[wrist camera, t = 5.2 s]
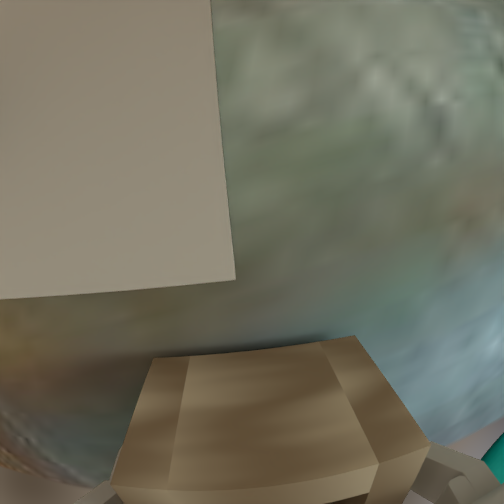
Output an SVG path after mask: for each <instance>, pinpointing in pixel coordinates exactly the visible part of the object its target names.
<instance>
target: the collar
mask: <svg viewBox="0 0 504 504" xmlns="http://www.w3.org/2000/svg"><path fill="white" fill-rule="evenodd" d="M430 446H431V444H430V442H429V441H428V439H427V438H426V436H425V435H424V433H423V432H422V430H421V429H420V427H419V426H418V424H417V423H416V421H415V420H414V419H413V417H412V416H411V414H410V413H409V411H408V410H407V408H406V407H405V405H404V404H403V403H402V401H401V400H400V398H399V397H398V395H397V394H396V392H395V391H394V390H393V388H392V387H391V385H390V384H389V383H388V381H387V380H386V378H385V377H384V375H383V374H382V373H381V371H380V370H379V368H378V367H377V366H376V364H375V363H374V361H373V360H372V359H371V357H370V356H369V354H368V353H367V352H366V350H365V349H364V347H363V346H362V345H361V343H360V342H359V341H358V339H357V338H356V336H355V335H354V336H348V337H343V338H337V339H331V340H326V341H319V342H313V343H307V344H300V345H293V346H286V347H278V348H270V349H262V350H253V351H244V352H234V353H223V354H212V355H198V356H183V357H164V358H153V361H152V363H151V366H150V369H149V371H148V374H147V377H146V380H145V382H144V385H143V388H142V391H141V393H140V396H139V399H138V402H137V404H136V407H135V410H134V413H133V416H132V419H131V422H130V424H129V427H128V430H127V433H126V436H125V439H124V442H123V445H122V448H121V451H120V454H119V457H118V461H117V464H116V467H115V470H114V473H113V476H112V480H111V483H110V485H111V487H112V488H113V489H114V491H115V492H116V493H117V495H118V496H119V497H120V498H121V500H122V501H123V502H124V504H402V503H403V501H404V499H405V497H406V496H407V494H408V492H409V490H410V488H411V486H412V484H413V483H414V481H415V479H416V477H417V475H418V473H419V470H420V468H421V466H422V464H423V462H424V460H425V458H426V456H427V453H428V451H429V449H430Z"/></svg>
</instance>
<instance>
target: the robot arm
mask: <svg viewBox="0 0 504 504" xmlns="http://www.w3.org/2000/svg"><path fill="white" fill-rule="evenodd" d="M430 444H431V446H430V449H429V451H428V453H427V456H426V458H425V460H424V462H423V464H422V466H421V468H420V470H419V473H418V475H417V477H416V479H415V481H414V483H413V484H412V486H411V488H410V489H411V490H413V491H414V492H416V493H417V494H419V495H421V496H422V497H424V498H426V499H427V500H429V501H431V502H432V503H434V504H504V483H503V484H500V482H499V481H498V480H497V478H496V477H495V476H494V474H493V473H492V472H491V470H490V469H489V468H488V466H487V465H486V463H485V462H484V461H481V460H479V459H476V458H473V457H470V456H468V455H465V454H462V453H459V452H457V451H455V450H452V449H449V448H447V447H445V446H442V445H440V444H437V443H435V442H432V441H431V442H430ZM121 448H122V447H121ZM121 448H120V449H119V451H118V454H117V457H116V460H115V463H114V466H113V469H112V473H111V476H110V479H109V481H107V480H105V481H103V482H102V483H101V484H99V485H98V486H97V487H95V488H94V489H93V490H92V491H90V492H89V493H87V494H86V495H85V496H83V497H82V498H81V499H79V500H78V501H76V502H75V503H73V504H124V502H123V501H122V500H121V498H120V497H119V496H118V495H117V493H116V492H115V491H114V489H113V488H112V487H111V485H110V483H111V480H112V476H113V473H114V470H115V467H116V464H117V461H118V457H119V454H120V451H121Z"/></svg>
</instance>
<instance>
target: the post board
mask: <svg viewBox="0 0 504 504" xmlns="http://www.w3.org/2000/svg"><path fill="white" fill-rule="evenodd" d="M229 280H236V276H235V263H234V254H233V244H232V235H231V226H230V216H229V207H228V197H227V187H226V177H225V167H224V156H223V146H222V135H221V124H220V113H219V102H218V90H217V79H216V66H215V54H214V41H213V28H212V14H211V0H0V299H13V298H30V297H45V296H60V295H74V294H87V293H100V292H113V291H125V290H136V289H148V288H159V287H169V286H180V285H190V284H200V283H210V282H220V281H229Z"/></svg>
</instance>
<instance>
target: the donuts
mask: <svg viewBox="0 0 504 504" xmlns="http://www.w3.org/2000/svg"><path fill="white" fill-rule="evenodd" d="M481 461H484V462H485V463H486V465H487V466H488V468H489V469H490V470H491V472H492V473H493V474H494V476H495V477H496V478H497V480H498V481H499V482H500V484H503V483H504V433H503V434H502V435H501V436H500V437H499V438H498V439H497V441H496V442H495V443H494V444H493V445H492V446H491V448H490V449H489V450H488V451H487V452H486V454H485V455H484V456H483V457H482V459H481Z"/></svg>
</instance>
